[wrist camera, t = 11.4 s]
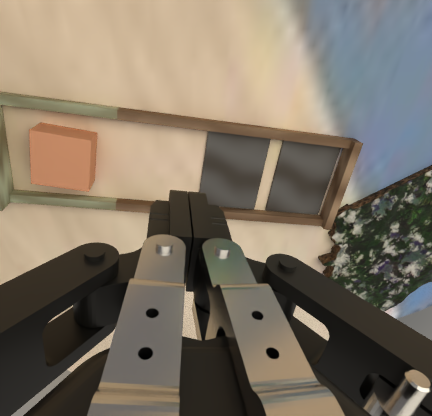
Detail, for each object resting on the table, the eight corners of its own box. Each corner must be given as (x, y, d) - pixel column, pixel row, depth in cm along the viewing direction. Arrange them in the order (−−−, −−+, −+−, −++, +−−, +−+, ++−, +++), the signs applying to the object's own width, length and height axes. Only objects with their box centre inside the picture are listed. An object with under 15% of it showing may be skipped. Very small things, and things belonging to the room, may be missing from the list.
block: (41, 122, 41) (29, 129, 38) (97, 132, 43) (91, 140, 39) (42, 171, 45) (31, 183, 41) (94, 179, 46) (88, 191, 42)
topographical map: (505, 230, 61) (520, 238, 58) (352, 314, 67) (359, 325, 64) (479, 119, 49) (496, 124, 47) (296, 233, 55) (302, 243, 53)
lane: (-12, 90, 39) (-30, 95, 35) (354, 138, 48) (368, 146, 44) (5, 196, 45) (-9, 210, 42) (324, 221, 54) (334, 234, 51)
